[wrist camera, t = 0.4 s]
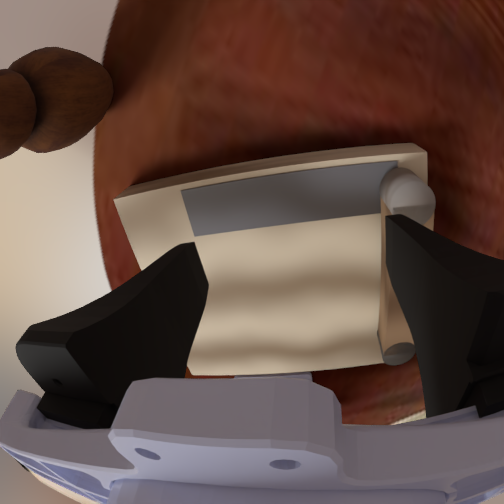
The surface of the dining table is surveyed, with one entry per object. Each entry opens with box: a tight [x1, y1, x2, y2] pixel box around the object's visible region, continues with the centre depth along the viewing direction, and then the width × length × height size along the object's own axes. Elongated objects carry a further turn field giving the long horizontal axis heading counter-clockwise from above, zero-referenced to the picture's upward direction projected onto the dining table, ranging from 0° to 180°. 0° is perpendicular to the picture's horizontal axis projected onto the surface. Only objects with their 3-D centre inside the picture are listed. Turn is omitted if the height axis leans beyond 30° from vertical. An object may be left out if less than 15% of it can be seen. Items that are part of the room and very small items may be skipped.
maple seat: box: [113, 143, 428, 375], centre depth 23 cm, size 18×20×3 cm
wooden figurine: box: [0, 47, 114, 159], centre depth 12 cm, size 7×6×15 cm
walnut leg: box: [377, 167, 436, 365], centre depth 19 cm, size 14×3×2 cm, turn 12°
